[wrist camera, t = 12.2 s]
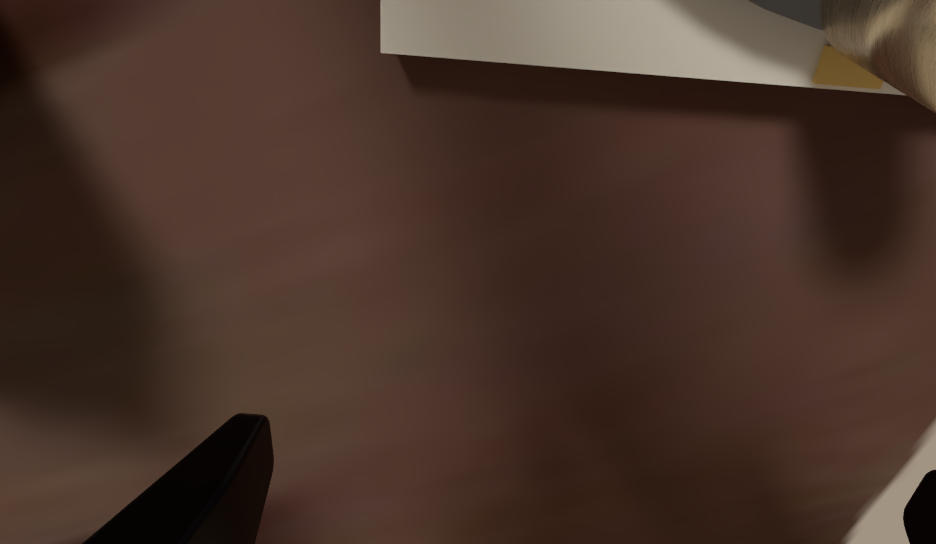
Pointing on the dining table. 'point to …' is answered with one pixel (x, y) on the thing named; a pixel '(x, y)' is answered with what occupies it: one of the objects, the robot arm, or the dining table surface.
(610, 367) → the dining table surface
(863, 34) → the handwheel
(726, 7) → the base plate
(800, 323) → the dining table surface
